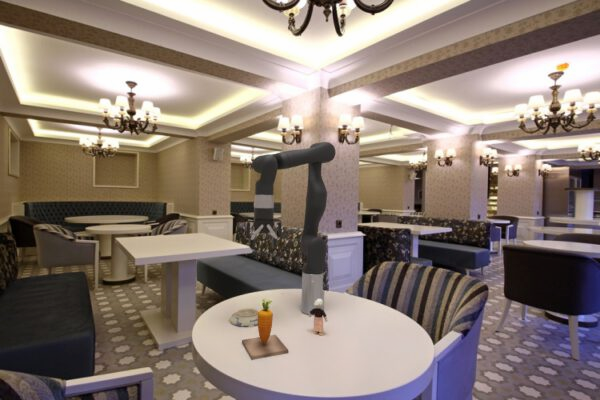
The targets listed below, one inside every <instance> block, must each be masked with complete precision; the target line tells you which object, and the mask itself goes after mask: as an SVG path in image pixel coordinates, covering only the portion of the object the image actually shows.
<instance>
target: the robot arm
mask: <svg viewBox="0 0 600 400" xmlns="http://www.w3.org/2000/svg"><path fill="white" fill-rule="evenodd" d="M336 153H337V152H336V148H335V146H334V145H333V143H331V142H329V141H322V142H316V143H313V144H311V145H310V146H309V147H308V148H302V149H301V148H300V149H291V150H285V151H280V152H277V153H273V154H270V153H269V154H268V153H267V154H264V155H263V154H261V155H258V156H256V157H255V158H254V159H253V161H252V164H251V165H252V169H253V171H254V172H255V173H256V174H257V173H258V174H260V177H259V179H257V180H256V181H255V184H254V185H255V186H254V187H255V189H254V201H253V221H252V222H250V221H246V222H245V224H244V237H245V238H246V239H248V240H249V243H248V244H249V245H248V248H250V250H253V251H254V250H255V237H257V235H258V234H269V235H270V236H271V237H272V238H271V248H272V249H273V250H274V249H276V248H277V244H278V243H277V242H278V239H279V238H281V237H283V235H282V233H283V232H282V229H283V228H282V222H281V221H274V214H275V213H274V210H275V209H274V208H275V200H274V187H275V186H274V185H275V181H276V178H277V173H278V170H279V171H280V170H286V169H287V170H288V169H291V168H297V167H299V166H302V165H307V164H308V165H307V169H308V170H307V174H308V175H307V188H306V197H305V212H304V220H303V221H304V222H303V230H302V235H301V238H300V239H301V240H300V249H301V252H302V253H303V254H304V255H306V263H305V264H303V266H302V273H301V276H302V278H301V303H300V304H301V305H300V307H301V308H300V311H301V312H302V313H303V314H306V315H309V313H310V311H311V310H312V309H314V308H316V306H315V305H314V302H315V301H316V300H317V299H322V300H323V304H322V308H320V309H322V310H324V311H325V290H324V289H323V287H324V284H323V283H324V269H325V268H326V261H327V244H326V241H325V240H324V238H322V237H320V236H318V234H319V226H320V223H321V220H322V218H323V216H324V213H325V211H326V208H327V201H328V199H327V197H328V192H327V191H328V190H327V187H326V184H325V183H324V180H323V176H322V164H327V163H330V162H332V161H333V160H334V159H335V158H336ZM252 227H253V228H254V229H253V230H252V232H251V234H250V230H251V228H252ZM274 227H275V228H276V232H275V231H274V230H273V228H274ZM313 315H314V316H315V314H312V315H311V316H313Z"/></svg>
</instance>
